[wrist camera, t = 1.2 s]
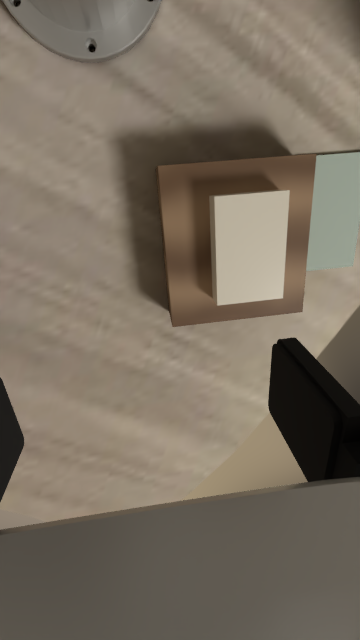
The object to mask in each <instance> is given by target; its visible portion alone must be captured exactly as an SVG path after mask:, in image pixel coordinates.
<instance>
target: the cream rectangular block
mask: <svg viewBox="0 0 360 640" xmlns="http://www.w3.org/2000/svg"><path fill="white" fill-rule="evenodd" d="M289 194H290V190H270V191H258V192H247V193H235V194H223V195H211V196H209V205H210V234H211V264H212V294H213V299H214V301H215V303H216V304H217V306H218V305H227V304H236V303H245V302H254V301H263V300H272V299H281V298H283V290H284V274H285V258H286V242H287V226H288V210H289Z"/></svg>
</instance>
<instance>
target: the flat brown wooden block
mask: <svg viewBox="0 0 360 640" xmlns="http://www.w3.org/2000/svg"><path fill="white" fill-rule="evenodd" d="M316 156H317V154H304V155H291V156H278V157H265V158H252V159H239V160H226V161H213V162H200V163H187V164H174V165H161V166H157V167H156V178H157V188H158V199H159V209H160V220H161V230H162V241H163V251H164V262H165V272H166V283H167V293H168V304H169V313H170V317H171V322H172V326H173V327H177V326H185V325H194V324H203V323H211V322H220V321H228V320H237V319H245V318H254V317H263V316H271V315H280V314H288V313H297V312H302V309H303V298H304V287H305V276H306V266H307V255H308V244H309V233H310V222H311V211H312V200H313V189H314V178H315V167H316ZM270 190H290V194H289V210H288V226H287V242H286V258H285V274H284V290H283V298H281V299H272V300H263V301H254V302H245V303H236V304H227V305H218V306H217V304H216V303H215V301H214V299H213V294H212V264H211V234H210V205H209V196H211V195H223V194H235V193H247V192H258V191H270Z"/></svg>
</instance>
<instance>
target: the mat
mask: <svg viewBox="0 0 360 640" xmlns="http://www.w3.org/2000/svg"><path fill="white" fill-rule="evenodd" d="M359 223H360V152H355V153H342V154H329V155H317V156H316V167H315V178H314V189H313V200H312V211H311V222H310V233H309V244H308V255H307V266H306V271H312V270H321V269H331V268H340V267H349V266H353V262H354V256H355V249H356V243H357V236H358V230H359Z"/></svg>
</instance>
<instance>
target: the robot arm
mask: <svg viewBox="0 0 360 640" xmlns="http://www.w3.org/2000/svg"><path fill="white" fill-rule="evenodd" d="M2 1H3V2H4V4H5V5H6V7H7V8H8V10H9V12H10V13H11V14H12V15H13V17H14V18H15V19H16V21H17V22H18V23H19V24H20V26H21V27H22V28H23V29H24V30H25V31H26V32H27V33H28V34H29V35H30V36H31V37H32V38H33V39H34V40H36V41H37V42H38V43H40V44H41V45H43V46H44V47H45V48H47V49H48V50H50V51H51V52H53V53H56V54H58V55H60V56H62V57H64V58H66V59H70V60H74V61H79V62H90V63H99V62H103V61H107V60H111V59H114V58H116V57H118V56H120V55H122V54H124V53H126V52H128V51H129V50H130V49H131V48H132V47H134V46H135V45H136V44H137V43H138V42H139V41H140V40H141V39H142V38H143V36H144V35H145V34H146V32H147V31H148V30H149V29H150V27H151V25H152V23H153V21H154V19H155V17H156V15H157V13H158V11H159V7H160V4H161V1H162V0H154V1H153V2H149V1H147V0H2ZM17 1H20V2H21V4H20V6H18V7H16V2H17ZM91 46H94V47H95V48H96V49H95V52H93V53H92V52H90V51H89V48H90V47H91ZM268 406H269V411H270V413H271V415H272V417H273V419H274V421H275V422H276V424H277V426H278V428H279V430H280V431H281V433H282V435H283V437H284V439H285V441H286V443H287V444H288V446H289V448H290V450H291V452H292V453H293V455H294V457H295V459H296V461H297V463H298V465H299V466H300V468H301V470H302V472H303V474H304V475H305V477H306V479H307V481H308V482H306V483H299V484H291V485H284V486H276V487H269V488H263V489H256V490H250V491H244V492H237V493H230V494H223V495H216V496H210V497H203V498H197V499H190V500H184V501H177V502H171V503H164V504H158V505H152V506H145V507H139V508H132V509H126V510H120V511H114V512H107V513H101V514H95V515H88V516H82V517H76V518H70V519H64V520H57V521H51V522H45V523H39V524H33V525H27V526H21V527H14V528H8V529H3V530H0V640H360V405H359V404H358V403H357V401H356V400H355V399H353V397H352V396H351V395H350V394H349V393H348V392H347V391H346V390H345V389H344V388H343V387H342V386H341V385H340V384H339V383H338V382H337V381H336V380H335V379H334V377H333V376H332V375H331V374H330V373H329V372H327V370H326V369H325V368H324V367H323V366H322V365H321V364H320V363H319V362H318V361H317V360H316V359H315V358H314V357H313V356H312V354H311V353H310V352H309V351H308V350H307V349H306V348H305V347H304V346H303V345H302V344H301V343H300V342H299V341H298V340H297V339H296V338H287V339H279V340H278V341H277V344H274V345H273V347H272V359H271V373H270V387H269V401H268ZM23 446H24V437H23V434H22V431H21V429H20V426H19V423H18V421H17V418H16V415H15V413H14V410H13V407H12V405H11V402H10V399H9V397H8V394H7V392H6V389H5V386H4V384H3V381H2V379H1V378H0V502H1V499H2V497H3V495H4V492H5V490H6V487H7V485H8V483H9V480H10V478H11V475H12V473H13V471H14V468H15V466H16V464H17V461H18V459H19V456H20V454H21V452H22V449H23Z"/></svg>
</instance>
